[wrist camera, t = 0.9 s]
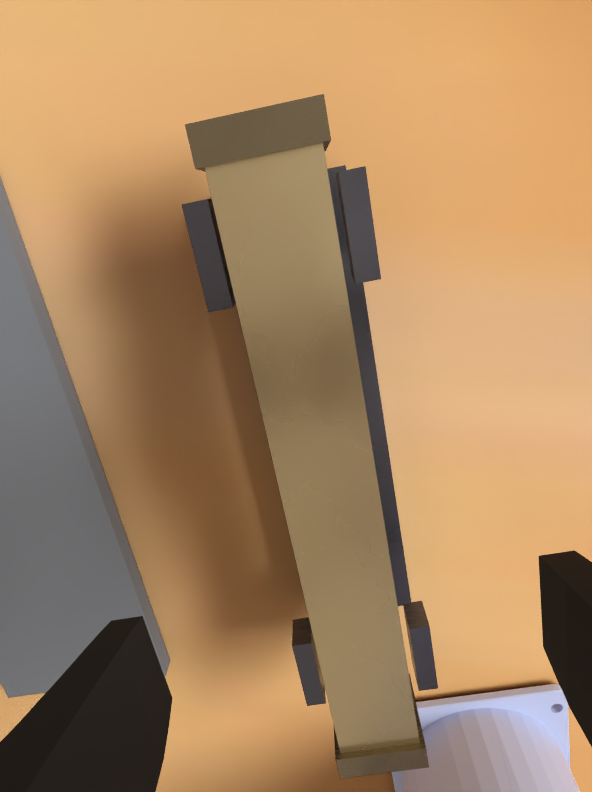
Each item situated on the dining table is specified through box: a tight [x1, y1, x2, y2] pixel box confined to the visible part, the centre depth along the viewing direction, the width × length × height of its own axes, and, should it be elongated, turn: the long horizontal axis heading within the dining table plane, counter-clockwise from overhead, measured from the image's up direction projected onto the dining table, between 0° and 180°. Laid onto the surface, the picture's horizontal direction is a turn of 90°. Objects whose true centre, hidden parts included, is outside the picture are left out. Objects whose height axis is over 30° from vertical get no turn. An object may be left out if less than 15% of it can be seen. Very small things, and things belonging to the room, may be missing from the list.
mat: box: [0, 177, 170, 698], centre depth 20 cm, size 20×7×1 cm, turn 11°
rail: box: [185, 94, 429, 778], centre depth 15 cm, size 18×3×3 cm, turn 11°
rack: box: [182, 165, 438, 706], centre depth 17 cm, size 16×4×5 cm, turn 11°
